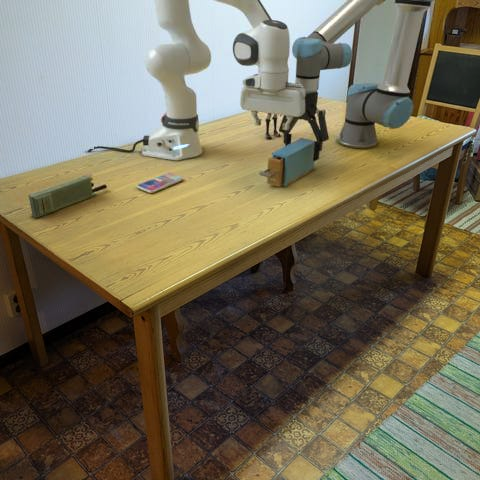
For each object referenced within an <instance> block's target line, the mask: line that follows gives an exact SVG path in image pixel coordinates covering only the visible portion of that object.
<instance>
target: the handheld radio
mask: <svg viewBox="0 0 480 480" xmlns="http://www.w3.org/2000/svg"><path fill="white" fill-rule="evenodd" d="M92 176H93V174H91V173H88V174H85V175H83V176H79V177H76V178H74V179H71V180H68V181H65V182H62V183H59V184H57V185H54V186H50V187H47V188H44V189H42V190H39V191H37V192H33V193H30V194H28V200H29V206H30V210H31V216H32V217H34V218H35V219H36V218H39V217H42V216H45V215H47V214H50V213H53V212H56V211H58V210H60V209H63V208H66V207H68V206H72V205H73V204H76V203H80V202H82V201H84V200H87V199H90V198H93V196H95V195H96V194H95V193H97V192H100V191H102V190H106V189H107V188H108V186H107V184H102V185H99V186H96V187H94V186H95V183H94V182H92V181H93V180H94V178H93V177H92ZM93 187H94V188H93Z"/></svg>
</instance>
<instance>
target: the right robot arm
mask: <svg viewBox="0 0 480 480" xmlns="http://www.w3.org/2000/svg"><path fill="white" fill-rule="evenodd" d="M385 1H386V0H346V2H344V3H343V4H342V5H341V6H340V7H338V9H337V10H334V12H333V13H332V14H331V15H330V16H329V17H328V18H326V19H325V20H324V21H323V22H322V23H321V24H320V25H318V27H316V28H315V29H314V30H313V32H311V33H310V34H309V35H308V36H301V37H298V38H296V39H295V40H294V42H293V43H292V45H291V53H292V56H293V57H294V58H295V59H296V61H295V63H296V64H295V66H296V67H295V78H294V79H295V80H294V81H295V82H294V84H301V85H302V86H304V87H305V89H306V96H305V113H304V114H303V115H302V116H300V117H294V116H293V119H292V121H291V122H290V123H289V129H288V130H283V129H282V128H283V124H284V123H286V122H287V120H288V119H286V115H282V119H281V122H280V125H279V127H278V133H282V135H283V138H282V139H283V141H282V142H283V144H284V146H286V145H288V144H290V143H292V137H293V135H292V133H291V131H292V130H293V128H294V127H295V125H296V124H297V123H298V121H299V120H300V121H301V120H303V121H305V122H307V123H308V124H309V125H310V128H311V130H312V133H313V136H314V137H315V141H316V142H315V144H314V155H313V161H314V162H317V161H318V160H319V159H320V152H322V150H323V145H324V144H323V143H324V142H327V141H328V140H329V138H330V137H329V132H328V127H327V121H326V110H325V109H318V107H317V106H318V98H319V92H318V91H319V86H320V77H321V76H320V75H321V71H327V70H337V69H343V68H347V67H348V66H350V64H351V63H352V60H353V55H354V54H353V49H352V47H351V45H350V44H348V43H346V42H343V43H342V42H338V43H335V42H336V41H338V40H339V39H340V38H342V36H344V34H346V33H347V32H348V31H349V30H350V29H351V28H352V27H353V26H354V25H356V24H357V22H359V21H360V20H361V19H362V18H363V17H364V16H365V15H366V14H368V13H369V12H370V11H371V10H372V9H374V7H375V6H380V5H382V4H383V3H384V2H385ZM433 1H435V0H394V5H395V7H396V9H397V12H396V18H395V21H394V25H393V26H394V27H393V31H392V35H391V36H392V37H391V41H390V45H389V50H388V54H387V59H386V65H385V68H384V74H383V79H382V82H381V83H374V82H373V83H371V82H367V83H366V82H363V83H354V84H351V85H350V86H349V88H348V92H347V97H346V107H345V116H344V124H343V126H342V128H341V130H340V132H339V133H338V135H337V142H338V144H340V145H341V146H343V147H347V148H351V149H357V150H358V149H360V150H361V149H362V150H363V149H371V148H374V147H376V146H377V143H378V136H377V131H376V124H377V125H380V126H382V127H384V128H389V129H393V130H395V129H399V128H400V127H403V126H404V125H405V124H406V123H407V122H408V121H409V120H410V118H411V117H412V114H413V111H414V103H413V100H412V99H411V98H410V94H411V90H410V89H409V87H408V83H409V78H410V74H411V71H412V70H411V69H412V65H413V61H414V58H415V53H416V48H417V44H418V40H419V35H420V31H421V27H422V23H423V19H424V14H425V13H426V12H427V11H428V10H429V9H430V8H431V6H432V2H433ZM301 88H302V87H301ZM316 115H317V116H316ZM317 120H318V122H317Z"/></svg>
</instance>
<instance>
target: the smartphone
mask: <svg viewBox="0 0 480 480" xmlns="http://www.w3.org/2000/svg"><path fill="white" fill-rule="evenodd" d="M182 181H184V177H183V176H180V175H179V174H174V173H172V172H166V173H163V174H161V175H159V176H156V177H154V178H151V179H149V180H146V181H143V182H141V183H138V184H137V185H136V188H137V189H139V190H141V191H143V192H145V193H148V194H154V193H156V192H158V191H160V190H161V191H162V190H164V189H166V188H168V187H170V186H172V185H175V184H177V183H180V182H182Z"/></svg>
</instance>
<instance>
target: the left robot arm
mask: <svg viewBox="0 0 480 480" xmlns="http://www.w3.org/2000/svg"><path fill="white" fill-rule="evenodd" d="M189 1H190V0H154V4H155V11H156V18H157V23H158V26H159V27H160V28H161V29H163V30H164V31H166V32H167V33H168V34H169V36H170V37H171V38H170V39H171V41H172V43H164V44H159V45H157V46H155V47H152V48H149V50H148V51H147V52H146V55H145V60H144V61H145V68H146V71H147V72H148V73H149V75H150V76H151V77H153V79H155V80H156V81H157V82H158V83H159V84H160V86H161V89H162V91H163V94H164V102H165V113H163V114H162V116H161V118H160V123H161V125H159V127H157V128H156V129H155V130H154V131H152V132H151V133H150V135H144V136H143V138H142V139H139V140H137V141H136V142H135V143H134V144H133V146H132V149H124V148H118V147H111V146H102V145H97V147H96V146H93V147H94V149H91V148H89V149H88V150H87V153H91V152H92V151H93V150H97V149H103V150H112V151H118V152H123V153H132V152H134V151H135V150H136V146H137V145H139V144H141V143H142V146H144V147H143V148H142V150H141V155H142V156H145V157H152V158H157V159H164V160H170V161H176V162H178V161H182V160H185V159H190V158H191V159H192V158H196V157H198V156H200V155H202V153H203V149H202V148H203V147H202V145H201V142H200V134H199V128H200V121H199V114H198V103H197V93H196V92H195V90H194V89H192V88H191V87H189V86H188V85H187V84H186V80H185V76H189V75H195V74H198V73H201V72H203V71H205V70H206V69H208V68H209V67H210V65H211V61H212V53H211V49H210V47H209V46H208V45H207V44H206V43H205V42H204V41H203V40H202V39H201V38H200V37H199V35H198V33H197V31H196V29H195V27H194V23H193V20H192V15H191V8H190V2H189ZM213 1H215V2H217V3H221V4H225V5H228V6H231V7H233V8H235V9H237V10H239V11H240V12H241V13H243V15H244V16H245V18H246V19H247V21H248V22H249V24H250V26H251V27H252V29H249V30H246V31H243V32H241V33H238V34H237V35H236V36H235V38H234V39H233V43H232V54H233V57H234V59H235V61H236V62H237V63H238V64H239V65H241V66H245V67H252V66H253V67H254V66H257V67H258V69H257V73H255V74H253V75H249V76H247V77H245V78H243V79H242V86H243V87H242V88H241V91H240V100H239V103H240V104H239V105H240V108H241V109H242V110H243V111H250V115H251V117H252V118H253V121H254V126H258V127H260V126H261V125H262V119H261V118H259V115H258V113H265V114H268V113H272V115H274V114H277V115H279V116H280V115H281V116H284V115H286V119H288V120H287V122H286V123H284V124H283V128H282V129H283V130H288V129H289V123H290V122H291V121H292V119H293V116H294V117H300V116H302V115H303V114H304V113H305V96H306V89H305V87H304V86H302V85H301V84H295V82H289V70H290V69H289V64H288V63H289V62H288V61H289V57H290V51H291V49H290V48H291V46H290V45H291V42H290V41H291V40H290V39H291V38H290V31H289V27H288V25H287V24H286V23H285V22H283V21H280V20H277V19H275V20H274V19H272V17H271V16H270V14H269V13H268V11H267V9H266V8H265V6H264V4H263V3H262V1H261V0H213ZM301 87H302V88H301Z"/></svg>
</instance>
